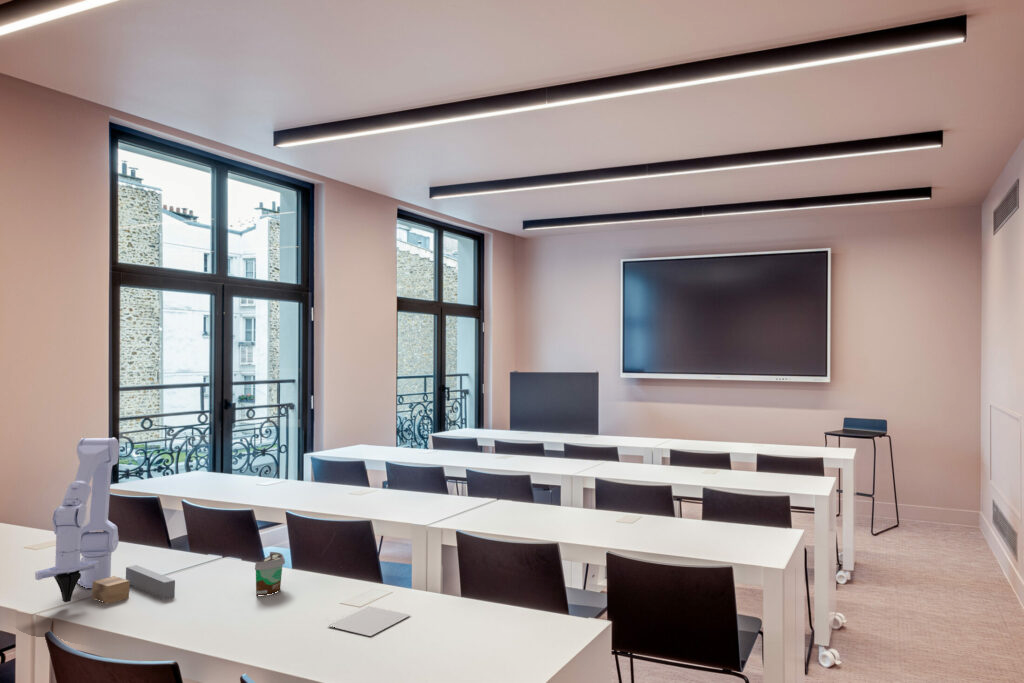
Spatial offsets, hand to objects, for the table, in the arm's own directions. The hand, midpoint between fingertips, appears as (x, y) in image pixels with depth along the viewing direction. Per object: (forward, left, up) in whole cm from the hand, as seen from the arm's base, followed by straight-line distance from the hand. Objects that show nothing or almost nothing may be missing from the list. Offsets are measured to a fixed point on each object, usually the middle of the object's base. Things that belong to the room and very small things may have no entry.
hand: (66, 600), depth 189 cm
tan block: (0, +11, -2) cm, 11 cm away
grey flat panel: (+63, +52, -2) cm, 82 cm away
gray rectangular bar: (0, +21, -2) cm, 22 cm away
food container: (+28, +45, -2) cm, 53 cm away
